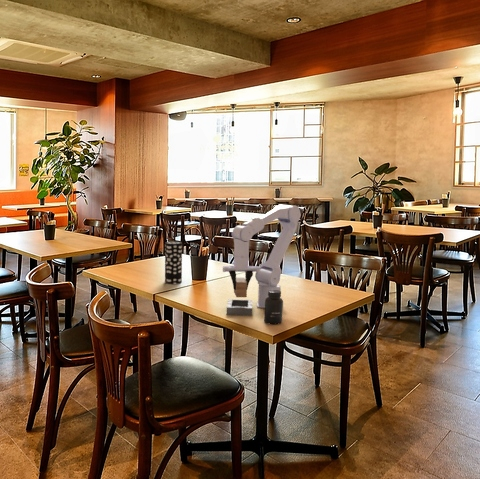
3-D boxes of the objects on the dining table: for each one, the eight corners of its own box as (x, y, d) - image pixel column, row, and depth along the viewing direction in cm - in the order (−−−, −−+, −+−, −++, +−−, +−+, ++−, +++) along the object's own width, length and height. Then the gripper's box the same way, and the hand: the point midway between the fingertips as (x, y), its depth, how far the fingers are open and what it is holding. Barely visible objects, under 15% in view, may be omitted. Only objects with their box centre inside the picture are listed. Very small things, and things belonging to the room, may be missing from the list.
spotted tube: (179, 279, 239) (180, 241, 236) (183, 283, 231) (183, 243, 228) (163, 280, 236) (163, 241, 233) (166, 284, 228) (166, 244, 226)
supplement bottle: (274, 326, 170) (276, 294, 168) (260, 322, 174) (261, 290, 173) (285, 322, 175) (287, 291, 173) (271, 318, 180) (272, 287, 178)
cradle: (252, 306, 194) (252, 299, 194) (251, 315, 182) (252, 308, 181) (228, 305, 194) (228, 298, 194) (226, 314, 182) (226, 307, 182)
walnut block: (246, 297, 183) (247, 282, 183) (236, 297, 183) (236, 282, 182) (243, 291, 192) (243, 277, 191) (233, 291, 192) (234, 277, 191)
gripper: (257, 254, 190) (256, 286, 192) (222, 254, 188) (221, 286, 190) (260, 257, 183) (259, 291, 185) (223, 257, 181) (223, 291, 183)
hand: (240, 289), depth 187 cm, fingers closed on walnut block, 4 cm apart
